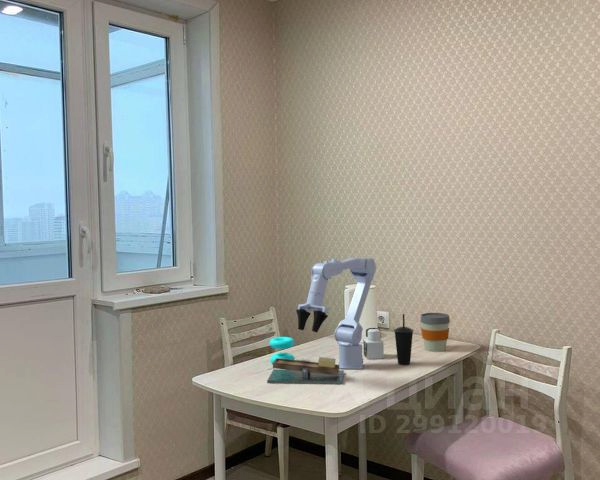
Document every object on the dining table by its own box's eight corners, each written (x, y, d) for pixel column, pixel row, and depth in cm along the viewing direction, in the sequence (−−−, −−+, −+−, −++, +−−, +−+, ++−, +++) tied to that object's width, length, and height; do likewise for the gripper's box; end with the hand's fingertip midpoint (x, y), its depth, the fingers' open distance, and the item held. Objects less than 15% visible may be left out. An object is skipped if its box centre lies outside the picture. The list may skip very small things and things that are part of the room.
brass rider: (334, 366, 211) (335, 358, 211) (334, 370, 207) (334, 361, 206) (318, 364, 212) (319, 357, 212) (317, 368, 207) (318, 360, 207)
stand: (343, 372, 216) (343, 359, 215) (342, 384, 202) (341, 370, 201) (273, 372, 219) (273, 359, 219) (267, 383, 205) (266, 369, 205)
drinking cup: (409, 367, 221) (409, 316, 220) (391, 364, 226) (390, 314, 224) (416, 362, 228) (416, 313, 227) (398, 360, 232) (398, 311, 231)
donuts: (273, 335, 237) (296, 336, 235) (273, 359, 237) (296, 360, 235) (266, 341, 227) (291, 342, 225) (267, 366, 228) (291, 366, 226)
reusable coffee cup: (453, 347, 251) (453, 314, 250) (444, 354, 240) (444, 319, 239) (426, 344, 257) (426, 311, 257) (416, 350, 247) (416, 316, 246)
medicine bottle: (363, 355, 241) (363, 327, 241) (380, 354, 242) (379, 326, 241) (366, 359, 234) (366, 330, 234) (383, 358, 235) (383, 330, 234)
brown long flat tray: (338, 370, 212) (339, 364, 212) (338, 375, 206) (338, 369, 205) (275, 363, 215) (276, 357, 215) (272, 368, 208) (273, 362, 208)
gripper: (295, 290, 212) (286, 326, 209) (322, 292, 201) (313, 329, 198) (309, 295, 216) (300, 330, 213) (335, 298, 205) (327, 334, 202)
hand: (307, 330), depth 206 cm, fingers open, 7 cm apart
